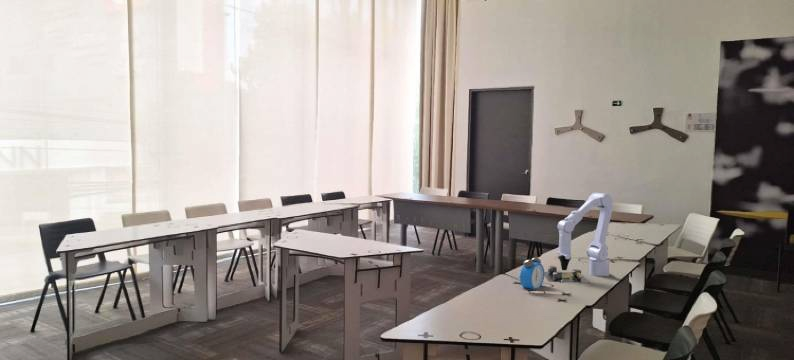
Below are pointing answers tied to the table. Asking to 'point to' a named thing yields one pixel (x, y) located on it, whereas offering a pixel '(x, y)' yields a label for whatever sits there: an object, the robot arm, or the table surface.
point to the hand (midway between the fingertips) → (564, 270)
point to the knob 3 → (576, 273)
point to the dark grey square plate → (573, 279)
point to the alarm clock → (532, 273)
